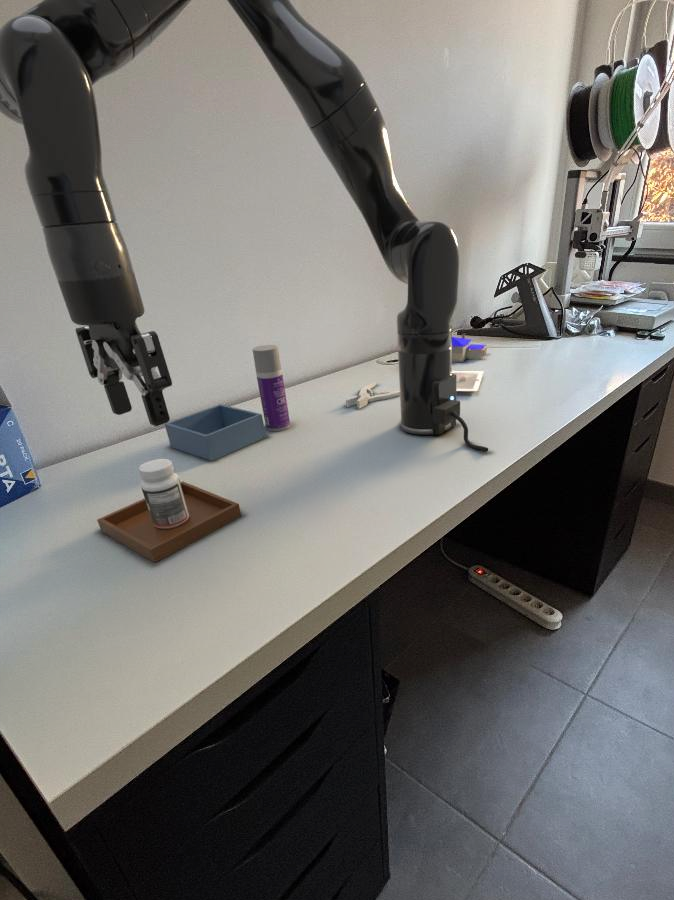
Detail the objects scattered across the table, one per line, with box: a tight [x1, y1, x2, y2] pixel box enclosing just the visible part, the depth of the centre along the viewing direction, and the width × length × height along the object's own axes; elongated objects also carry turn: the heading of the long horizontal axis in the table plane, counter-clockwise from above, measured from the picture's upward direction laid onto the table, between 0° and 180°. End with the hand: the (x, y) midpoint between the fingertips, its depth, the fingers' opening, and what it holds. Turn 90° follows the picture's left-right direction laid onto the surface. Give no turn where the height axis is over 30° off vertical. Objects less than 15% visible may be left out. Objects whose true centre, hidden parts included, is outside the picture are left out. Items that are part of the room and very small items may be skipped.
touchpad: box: [452, 370, 484, 392], centre depth 118 cm, size 8×15×2 cm, turn 166°
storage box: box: [164, 403, 267, 462], centre depth 96 cm, size 12×12×4 cm
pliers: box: [345, 381, 400, 410], centre depth 114 cm, size 10×2×15 cm
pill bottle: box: [138, 458, 189, 529], centre depth 70 cm, size 5×5×8 cm
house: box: [452, 333, 488, 363], centre depth 137 cm, size 11×14×6 cm
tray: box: [96, 480, 242, 563], centre depth 71 cm, size 13×13×2 cm
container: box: [252, 344, 291, 432], centre depth 98 cm, size 5×5×15 cm
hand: (141, 418), depth 64 cm, fingers open, 8 cm apart
